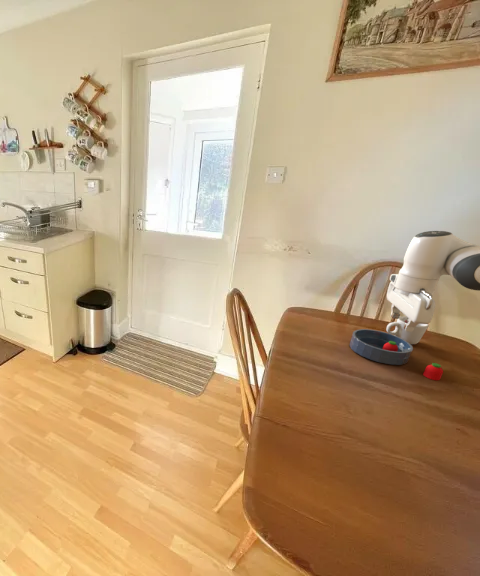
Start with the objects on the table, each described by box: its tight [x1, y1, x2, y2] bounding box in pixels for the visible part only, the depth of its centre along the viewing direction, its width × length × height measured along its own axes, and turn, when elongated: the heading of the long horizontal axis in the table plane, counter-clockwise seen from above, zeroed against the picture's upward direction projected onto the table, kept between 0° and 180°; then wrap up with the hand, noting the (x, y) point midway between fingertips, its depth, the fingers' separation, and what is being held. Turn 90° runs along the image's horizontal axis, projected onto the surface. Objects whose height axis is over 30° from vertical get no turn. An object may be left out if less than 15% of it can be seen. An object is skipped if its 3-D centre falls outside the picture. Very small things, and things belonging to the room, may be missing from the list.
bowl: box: [348, 328, 414, 366], centre depth 105 cm, size 15×15×5 cm
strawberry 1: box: [383, 341, 398, 352], centre depth 104 cm, size 4×4×4 cm
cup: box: [385, 315, 429, 345], centre depth 112 cm, size 11×8×8 cm
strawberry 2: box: [422, 362, 444, 381], centre depth 93 cm, size 4×4×4 cm
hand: (400, 323), depth 101 cm, fingers open, 8 cm apart
